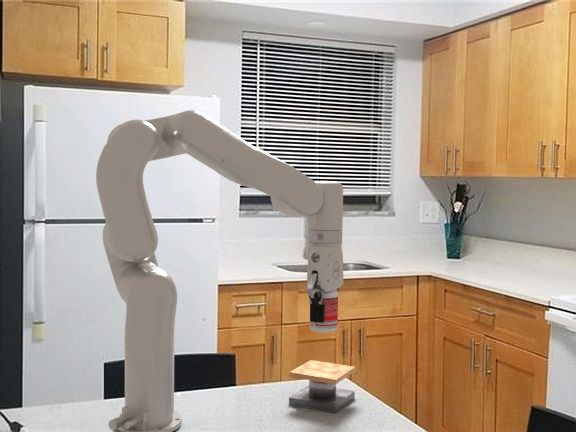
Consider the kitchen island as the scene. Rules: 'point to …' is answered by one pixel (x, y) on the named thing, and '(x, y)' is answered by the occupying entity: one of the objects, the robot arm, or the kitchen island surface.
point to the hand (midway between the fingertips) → (323, 318)
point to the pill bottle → (328, 313)
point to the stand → (322, 386)
